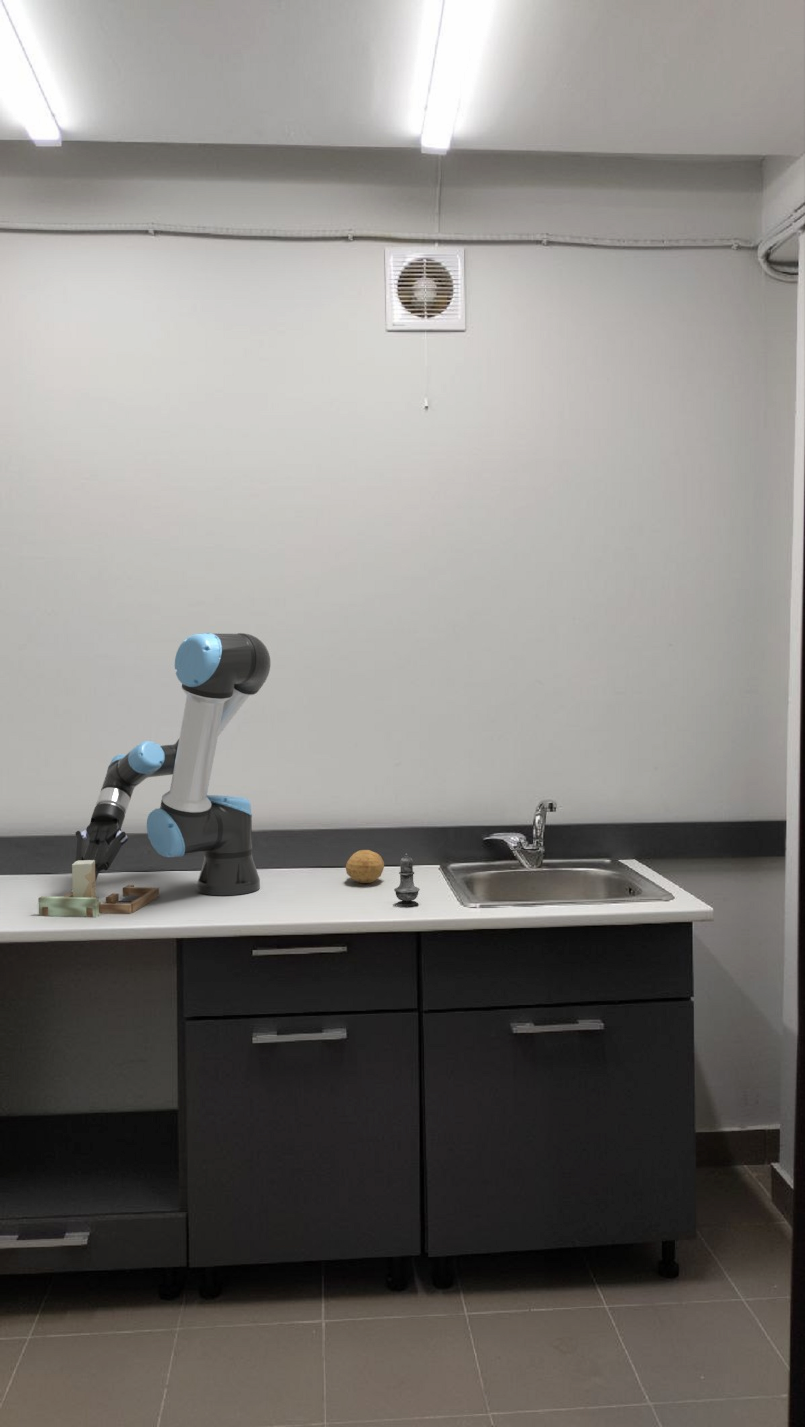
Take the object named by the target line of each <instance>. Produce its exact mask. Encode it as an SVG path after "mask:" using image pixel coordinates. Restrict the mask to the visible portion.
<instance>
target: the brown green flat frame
mask: <svg viewBox="0 0 805 1427" xmlns="http://www.w3.org/2000/svg"><path fill="white" fill-rule="evenodd" d="M159 891H160V888H159V887H149V886H147V887H145V886H138V887H137V886H135V884H127V885H125V886H124V887H122V897H123V898H121V899H120V897H119V896H120V894H119V893H114V892H113V893H110V894H109V895H107V896H105V903H102V902H101V901H99V897H96V898H89V897H73V890H72V891H70V892H68V893H67V894H65V895H62V896H39V897H37V898H38V903H37V904H38V916H40V917H78V916H81V917H82V918H84V916H86V917H85V918H97V917H98V916H100V914H115V915H116V914H119V915H120V914H121V915H122V914H123V915H131V914H134V913H135V912H136V911H138V910H139V909H141V908H143V907H144V906H146V905H148V904H150V903H151V902H153V901H155V900H156V899H158V898H159V897H160V892H159ZM157 897H158V898H157ZM81 917H80V918H81Z"/></svg>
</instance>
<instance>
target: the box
mask: <svg viewBox="0 0 805 1427" xmlns="http://www.w3.org/2000/svg"><path fill="white" fill-rule="evenodd" d="M71 876H72V877H71V880H72V881H71V882H72V883H71V885H72V891H73V897H89V898H97V888H96V885H97V884H96V882H97V881H96V882H95V860H78V861H76V860H75V861H74V862H73V863H72V864H71Z"/></svg>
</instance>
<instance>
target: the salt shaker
mask: <svg viewBox="0 0 805 1427" xmlns="http://www.w3.org/2000/svg"><path fill="white" fill-rule="evenodd" d="M399 862H400V863H399V864H400V866H399V868H400V871H399V872H398V874H399V878H400V881H399V884H398V886H397V887H396V888H394V889H393V890H394V892H395V896H396V899H398V900H399V901H397V902H396V903H395V906H396V907H398V908H415V907H418V906H419V902H417V901H415V900H416V899H417V898H418V895H419V891H420V890H421V889H420V888H419V887H417V886H415V884H414V882H415V881H414V874H415V871H414V865H413V864H414V860H413V858H411V857H409V856H408V853H407V852H406V853H405V854H404V857H402V858H401V859H400V861H399Z"/></svg>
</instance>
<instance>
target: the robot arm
mask: <svg viewBox="0 0 805 1427" xmlns="http://www.w3.org/2000/svg"><path fill="white" fill-rule="evenodd" d="M174 670H176V672H175V675H176V678H177V679H178V681H179V682H180V683H181V689H182V691H183V692H184V694H185V695H186V698H185V699H186V700H185V704H184V709H183V716H182V721H181V725H180V726H181V727H180V732H179V738H178V739H177V740H176V742H175V743H174V744H165V745H159V744H158V743H156V742H154V741H151V740H145V741H142V742H140V743H139V744H138V745H136V746H134V747H133V748H132V749H131V750H130V751H128V753H121V754H118V755H115V756H114V757H113V758H112V759H111V761H110V764H109V765H108V767H107V770H106V774H105V777H104V780H103V784H102V786H101V789H100V792H99V795H98V797H97V800H96V802H95V803H96V804H95V807H94V809H93V812H92V814H91V817H90V818H91V819H90V822H89V824H88V826H86V829H85V830H82V831H80V830H76V832H75V836H76V840H77V841H76V851H75V852H76V854H75V862H76V861H78V860H95V882H97V879H98V876H99V873H100V872H101V871H102V870H104V871H108V869H109V868H110V867H111V865H112V863H113V862H114V860H115V859H116V857H117V855H118V853H119V851H120V850H121V848H122V846H124V845H125V844H126V843H127V842H128V840H129V837H128V835H127V834H126V832H125V831H122V827H123V824H124V821H125V818H126V814H127V810H128V807H129V804H130V801H131V798H132V795H133V792H134V790H135V788H136V787H137V786H138V785H140V784H141V783H142V782H143V781H145V780H146V779H148V778H155V777H164V776H171V775H172V777H171V783H170V787H169V788H170V789H169V791H167V792H165V793H163V795H162V797H161V801H160V807H159V808H154V809H153V810H152V811H151V812H149V814H148V816H147V819H146V832H147V838H148V840H149V841H150V845H152V848H153V849H154V850H155V852H157V854H158V855H160V856H162V857H165V858H174V857H175V858H176V857H177V858H180V857H183V856H188V855H192V854H198V853H203V852H204V853H203V854H204V856H203V857H204V858H203V862H202V866H201V869H200V872H199V876H198V880H197V891H198V892H199V893H200V894H204V895H210V896H236V895H244V894H250V893H253V892H257V891H258V890H259V889H261V879H260V876H259V872H258V871H257V868H256V864H255V861H254V859H253V836H252V835H253V834H252V827H253V826H252V824H253V823H252V822H253V820H252V818H253V813H252V808H251V807H252V806H251V804H252V803H251V802H250V800H249V799H248V798H247V797H241V796H231V795H217V794H216V795H215V794H214V795H213V794H211V795H210V794H209V795H208V791H209V786H210V780H211V774H212V769H213V765H214V758H215V754H216V749H217V748H216V747H217V743H218V737H219V736H220V735H221V734H222V732H223V731H224V729H225V728H226V727H227V726H228V724H229V723H230V722H231V720H232V719H233V717H234V716H236V714H237V713H238V711H239V710H240V708H242V706H243V704H244V703H245V702H246V701H247V700H248V698H249V697H250V696H255V695H256V694H257V693H258V692H260V690H261V688H262V687H263V686H264V684H265V682H266V681H267V679H268V677H269V673H270V671H271V656H270V653H269V650H268V649H267V646H266V645H265V644H264V643H263V641H262V640H260V639H259V638H258V637H256V636H254V635H252V634H248V633H242V632H240V633H211V632H204V633H198V634H192V635H189V636H188V637H187V638H185V639H184V640H183V641H182V642H181V644H179V647H178V649H177V651H176V655H175V657H174ZM88 836H89V843H88V846H87V849H86V845H87V843H86V841H87V837H88ZM111 842H112V843H111Z"/></svg>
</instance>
